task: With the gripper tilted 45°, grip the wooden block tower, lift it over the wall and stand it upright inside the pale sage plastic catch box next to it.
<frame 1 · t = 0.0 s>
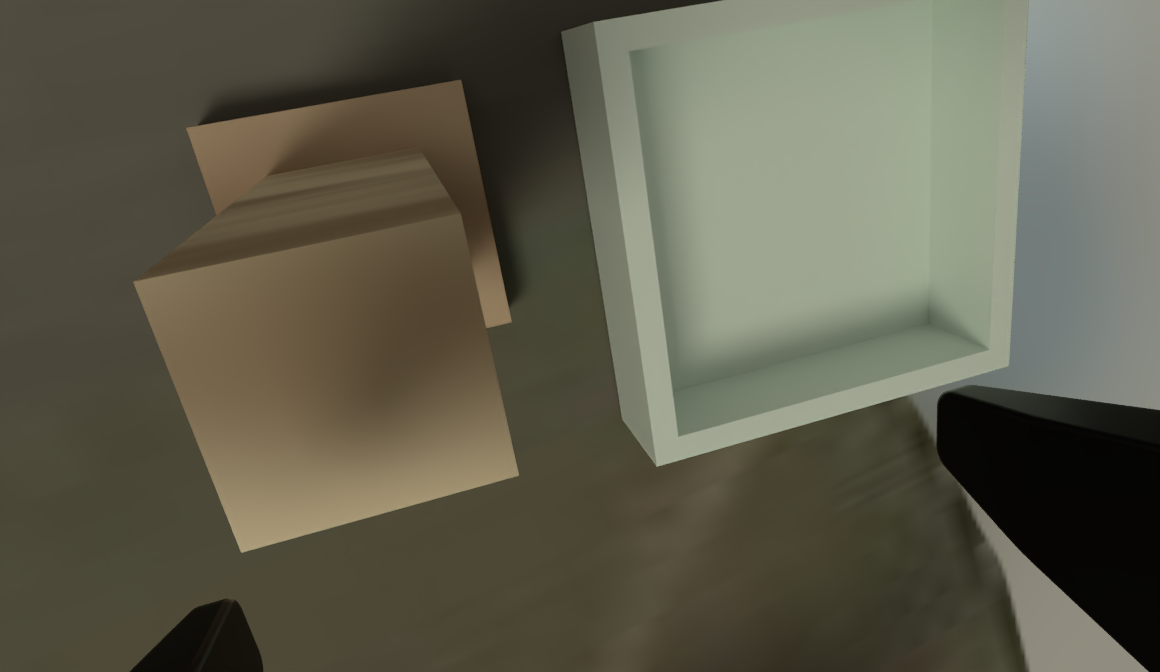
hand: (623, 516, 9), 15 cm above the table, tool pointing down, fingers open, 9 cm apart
wooden block tower: (364, 226, 21), on the table
catch box: (774, 203, 24), on the table
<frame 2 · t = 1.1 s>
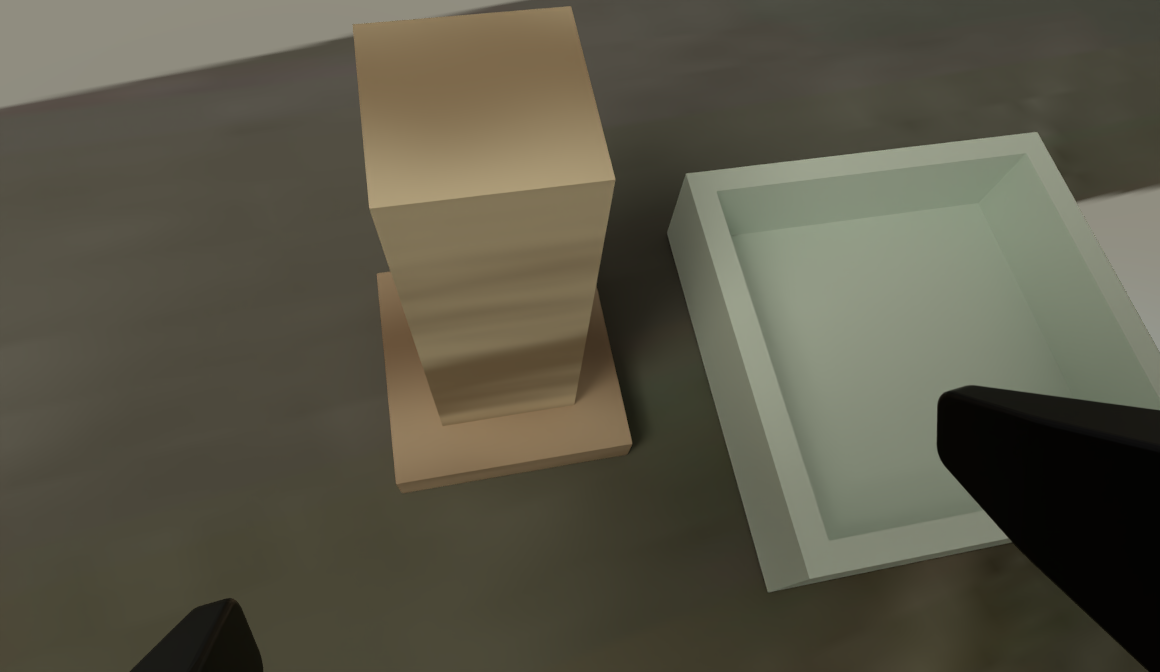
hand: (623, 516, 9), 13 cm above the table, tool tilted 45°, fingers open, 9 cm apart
wooden block tower: (500, 369, 24), on the table
catch box: (888, 365, 25), on the table
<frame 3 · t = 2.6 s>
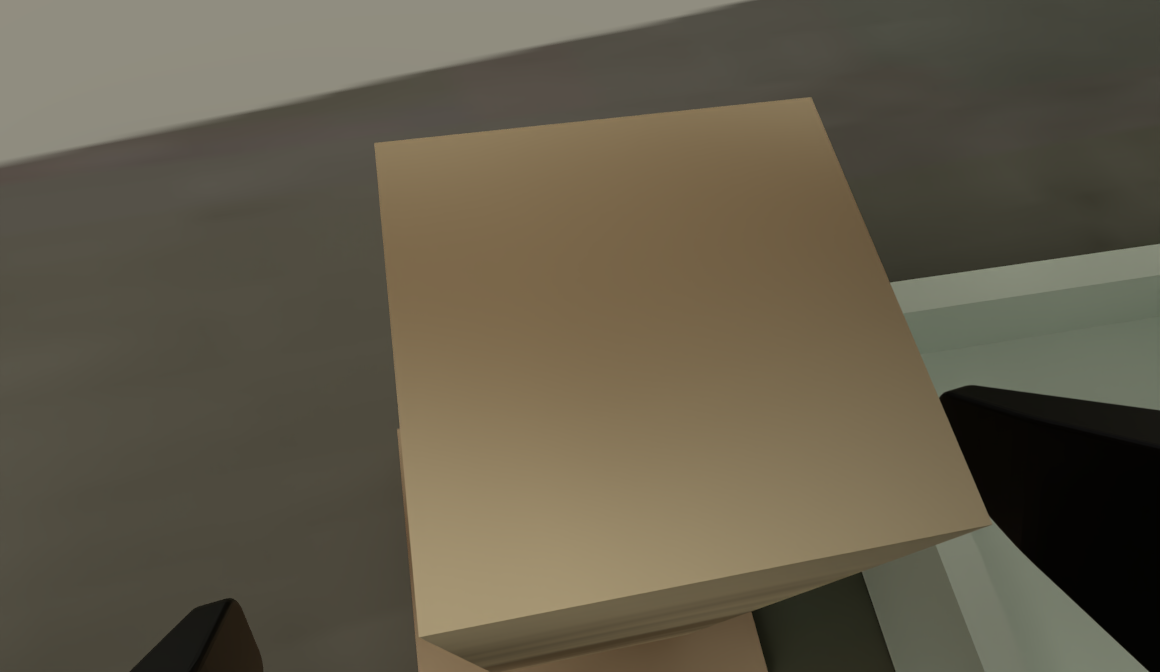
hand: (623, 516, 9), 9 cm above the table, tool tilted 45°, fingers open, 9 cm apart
wooden block tower: (571, 564, 17), on the table
catch box: (1109, 549, 18), on the table
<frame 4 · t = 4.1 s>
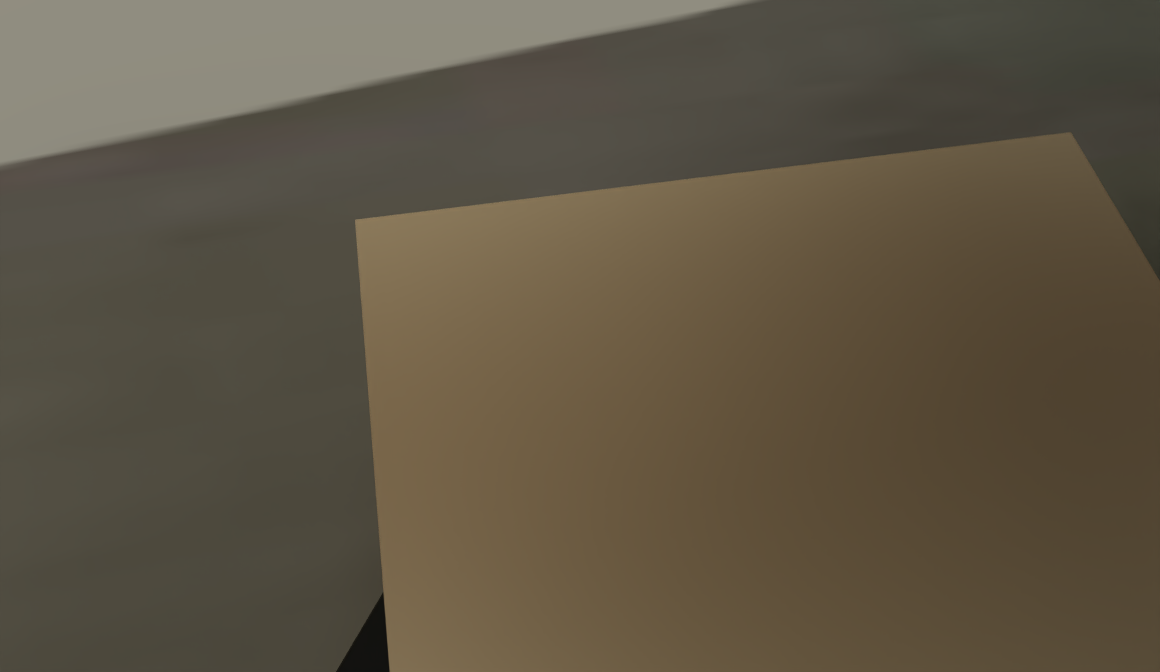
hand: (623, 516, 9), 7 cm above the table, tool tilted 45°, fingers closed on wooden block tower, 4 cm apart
wooden block tower: (604, 655, 14), on the table, touching gripper
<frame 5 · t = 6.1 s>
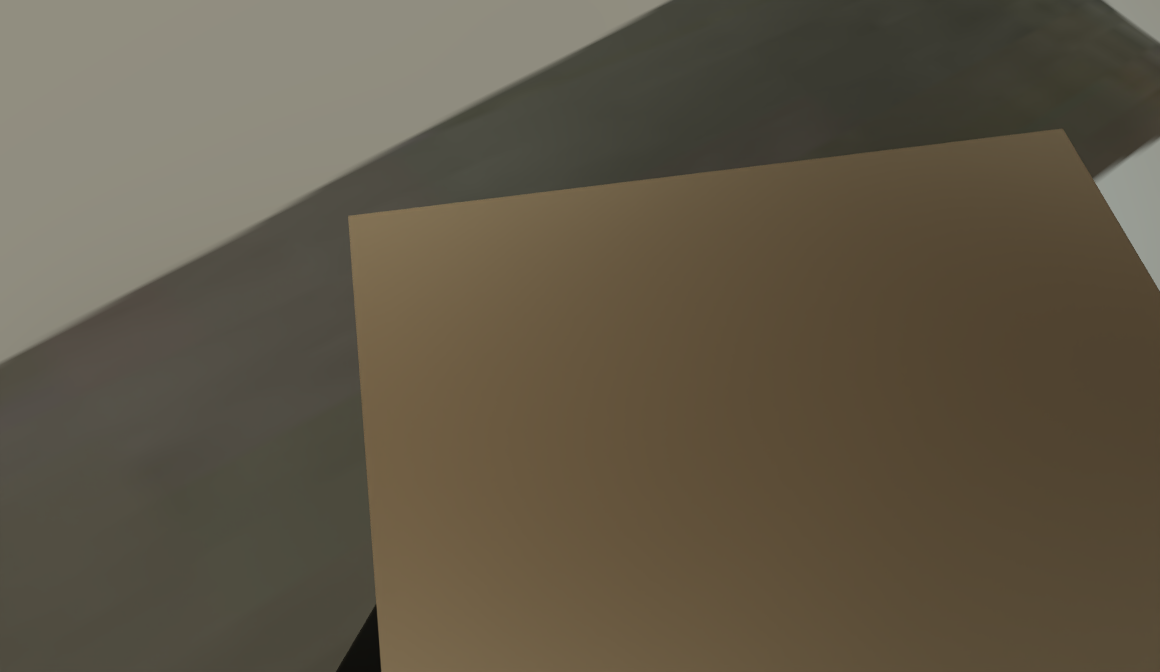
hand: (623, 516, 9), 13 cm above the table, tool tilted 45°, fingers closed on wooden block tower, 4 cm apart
wooden block tower: (602, 654, 14), point 7 cm above the table, touching gripper
when the fingers open (8 cm above the table, at t = 8.1 s): wooden block tower stays where it is, resting on catch box.
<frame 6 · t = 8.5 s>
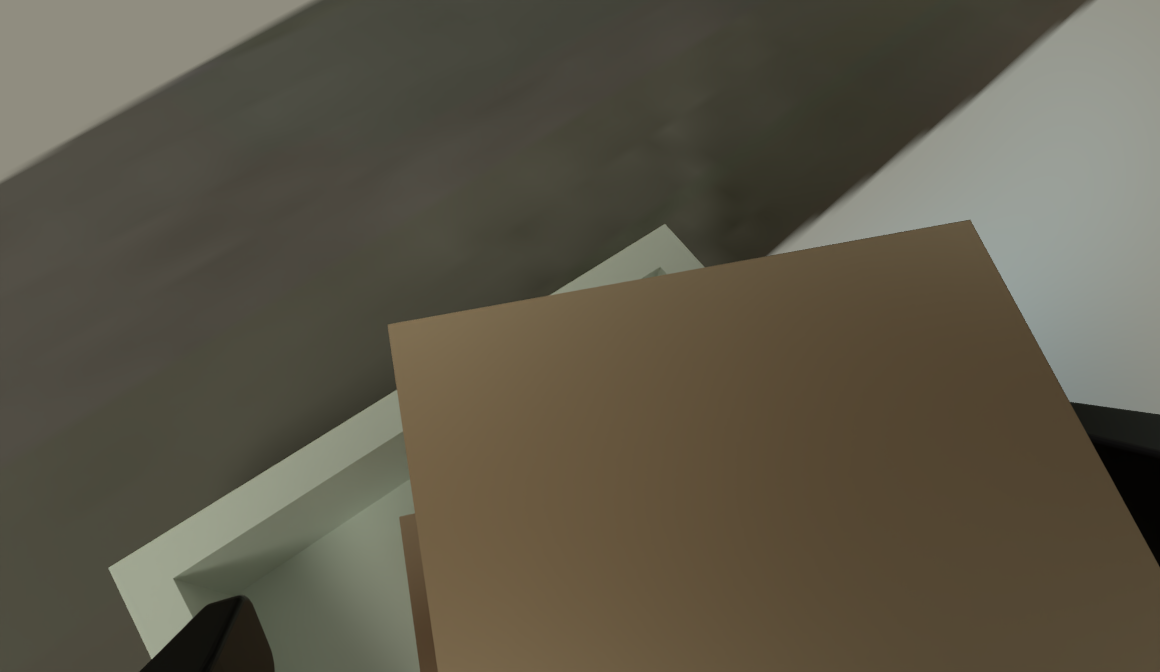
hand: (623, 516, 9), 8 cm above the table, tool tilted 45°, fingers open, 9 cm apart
wooden block tower: (600, 656, 15), point 1 cm above the table, touching catch box
catch box: (599, 656, 16), on the table
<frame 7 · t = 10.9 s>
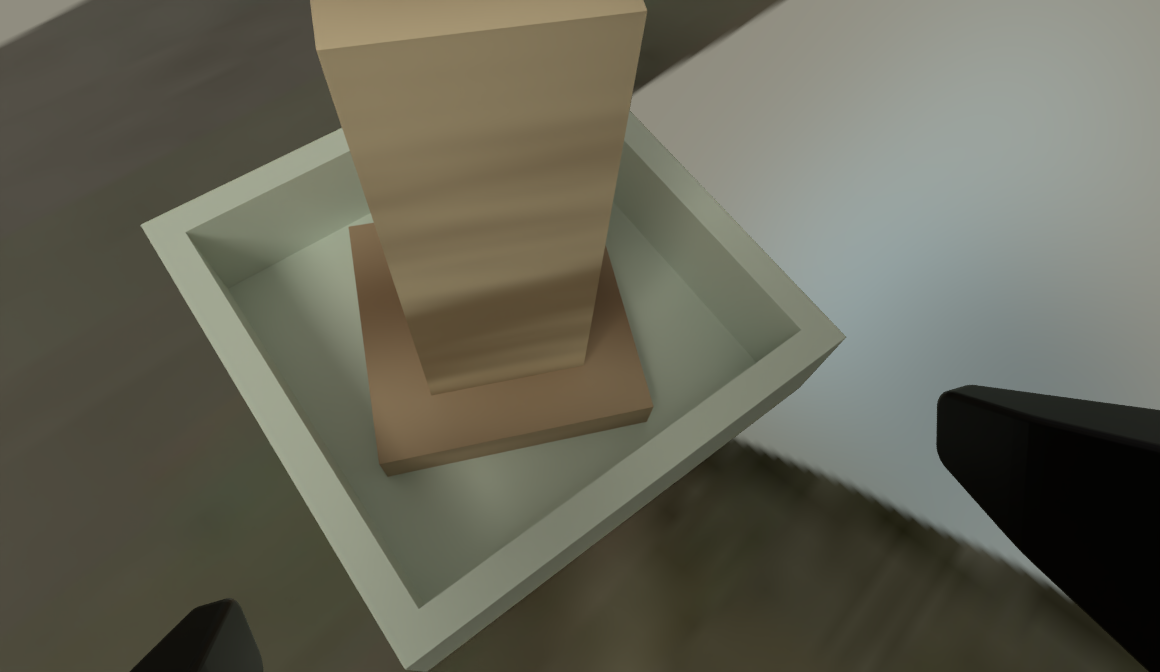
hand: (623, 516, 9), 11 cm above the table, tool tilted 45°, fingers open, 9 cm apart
wooden block tower: (496, 332, 21), point 1 cm above the table, touching catch box
catch box: (497, 340, 21), on the table
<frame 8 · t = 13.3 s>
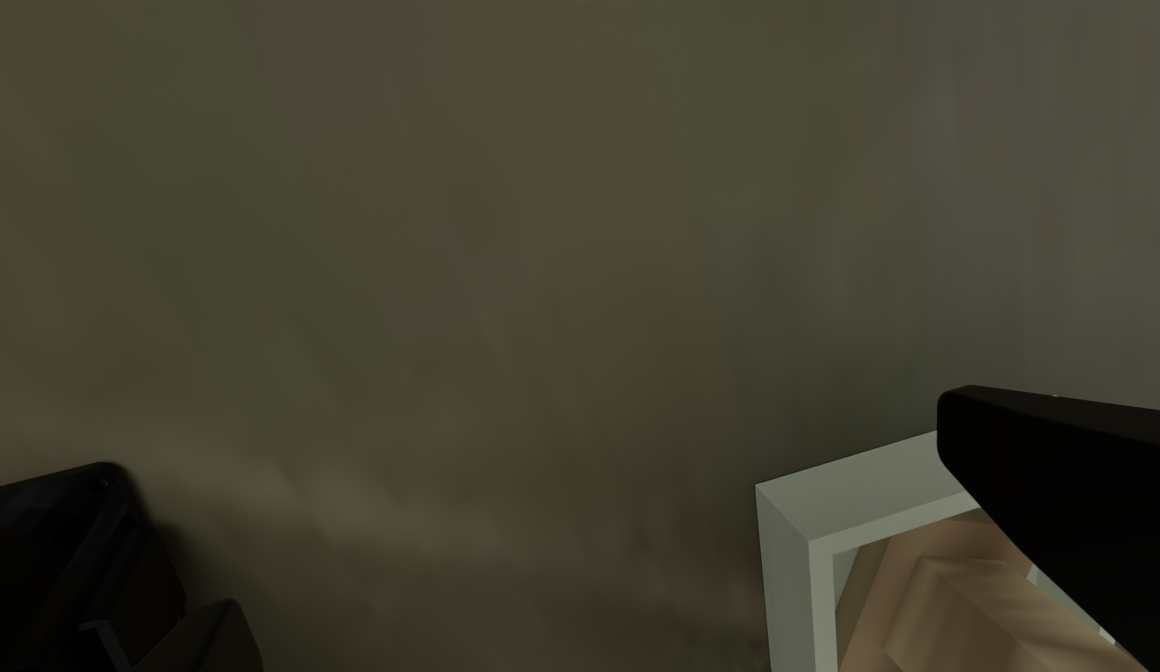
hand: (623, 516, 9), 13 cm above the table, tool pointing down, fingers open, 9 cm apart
wooden block tower: (921, 584, 29), point 1 cm above the table, touching catch box
catch box: (910, 575, 29), on the table
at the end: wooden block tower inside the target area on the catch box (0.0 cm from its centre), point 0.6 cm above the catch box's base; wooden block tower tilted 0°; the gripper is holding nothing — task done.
